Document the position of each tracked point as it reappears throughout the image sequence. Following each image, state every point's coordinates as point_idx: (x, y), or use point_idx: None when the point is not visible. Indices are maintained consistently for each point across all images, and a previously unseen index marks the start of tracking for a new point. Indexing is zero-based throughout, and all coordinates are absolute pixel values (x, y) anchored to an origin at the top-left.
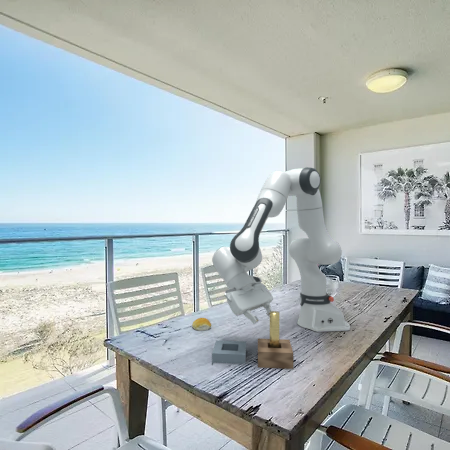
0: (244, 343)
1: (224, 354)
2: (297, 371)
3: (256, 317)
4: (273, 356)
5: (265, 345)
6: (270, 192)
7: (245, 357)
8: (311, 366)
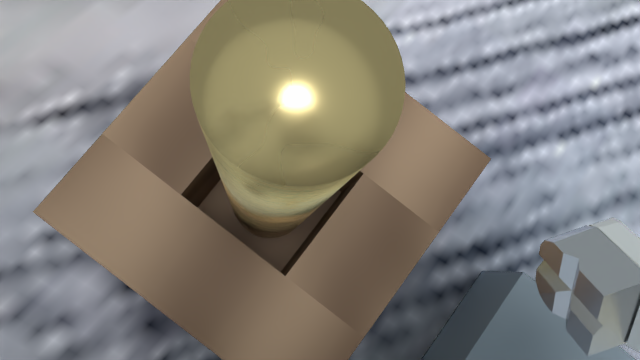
0: None
1: None
2: None
3: (593, 269)
4: None
5: (351, 227)
6: None
7: (511, 273)
8: (75, 20)
